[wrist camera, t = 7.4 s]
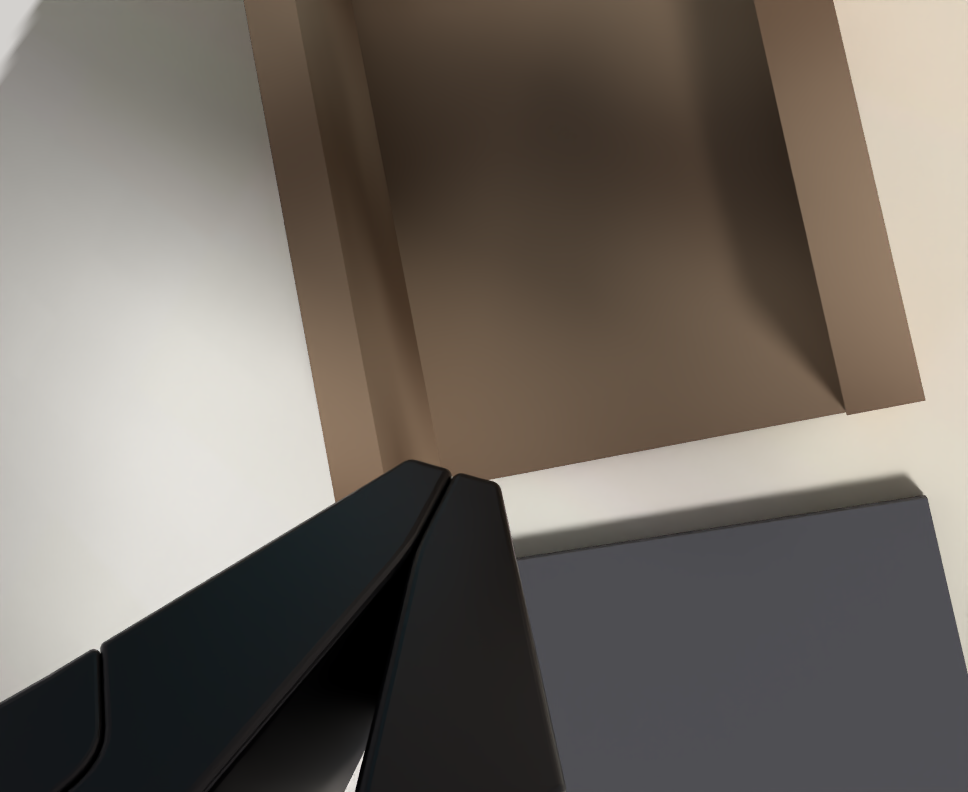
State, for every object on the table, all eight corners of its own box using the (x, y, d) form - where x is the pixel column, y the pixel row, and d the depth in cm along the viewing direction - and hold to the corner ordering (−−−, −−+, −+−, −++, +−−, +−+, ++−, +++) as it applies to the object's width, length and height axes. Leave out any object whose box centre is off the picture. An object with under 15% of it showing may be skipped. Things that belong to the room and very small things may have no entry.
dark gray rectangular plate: (1013, 880, 14) (1018, 893, 14) (480, 889, 17) (472, 900, 17) (924, 495, 15) (927, 497, 14) (420, 572, 18) (411, 577, 18)
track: (912, 399, 15) (925, 400, 12) (403, 495, 18) (337, 511, 16) (764, -245, 16) (750, -358, 13) (302, -40, 19) (224, -101, 16)
